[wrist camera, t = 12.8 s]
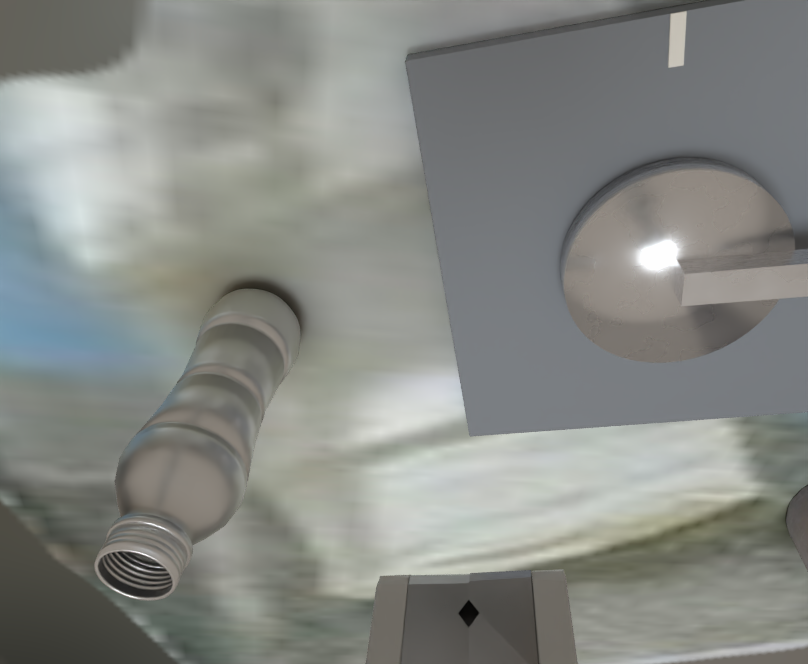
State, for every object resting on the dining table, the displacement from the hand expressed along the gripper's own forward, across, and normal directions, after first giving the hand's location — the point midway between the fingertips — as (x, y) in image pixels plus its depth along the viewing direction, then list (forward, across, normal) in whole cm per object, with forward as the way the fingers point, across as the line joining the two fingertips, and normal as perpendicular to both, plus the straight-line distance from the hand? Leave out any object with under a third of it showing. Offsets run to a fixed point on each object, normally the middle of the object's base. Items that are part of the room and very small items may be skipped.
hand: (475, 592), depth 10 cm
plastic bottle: (+29, +16, +12) cm, 36 cm away
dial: (+27, -13, +10) cm, 32 cm away
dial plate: (+29, -10, +10) cm, 32 cm away
